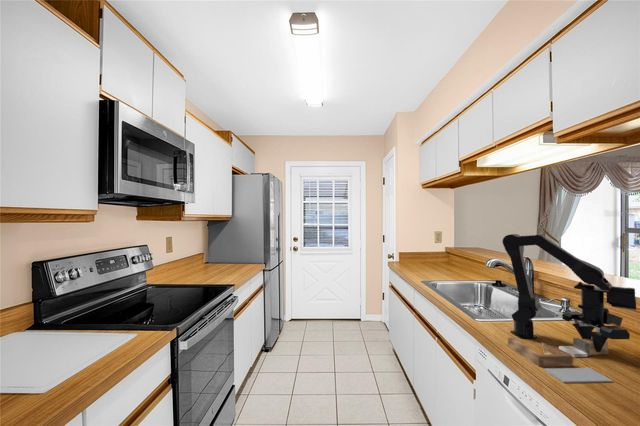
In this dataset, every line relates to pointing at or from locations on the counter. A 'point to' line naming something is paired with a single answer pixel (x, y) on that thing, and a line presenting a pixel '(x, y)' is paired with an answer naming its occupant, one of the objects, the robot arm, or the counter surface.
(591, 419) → the counter surface
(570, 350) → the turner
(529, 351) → the corner fence
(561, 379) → the mat
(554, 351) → the shard
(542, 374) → the counter surface
